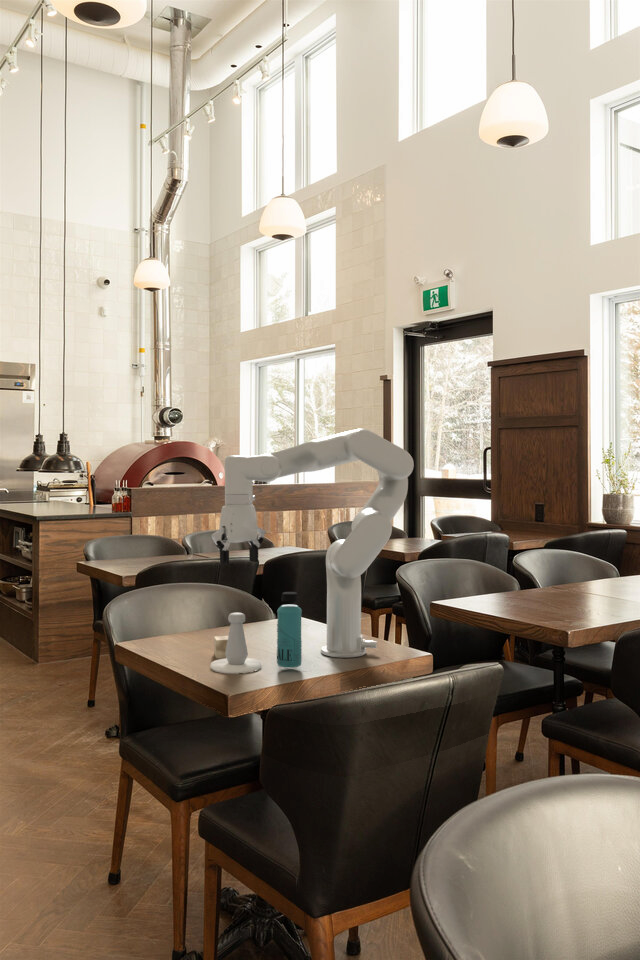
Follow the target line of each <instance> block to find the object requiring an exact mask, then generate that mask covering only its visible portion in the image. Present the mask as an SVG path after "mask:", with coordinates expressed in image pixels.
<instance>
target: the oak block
mask: <svg viewBox="0 0 640 960" xmlns="http://www.w3.org/2000/svg"><path fill="white" fill-rule="evenodd" d="M228 636H229V635H216V636H215V635H214V637H213V638H214V640H213V641H214V642H213V644H214V648H213V649H214V651H213V654H214V657H215V659H224V658H226V656H225V652H226V647H227V641H228Z"/></svg>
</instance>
